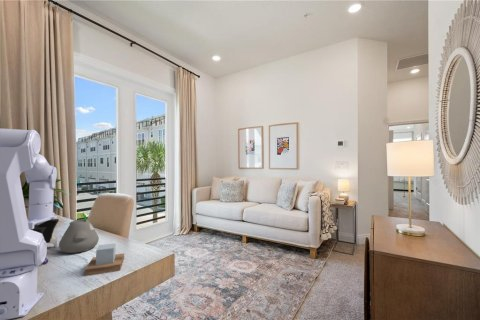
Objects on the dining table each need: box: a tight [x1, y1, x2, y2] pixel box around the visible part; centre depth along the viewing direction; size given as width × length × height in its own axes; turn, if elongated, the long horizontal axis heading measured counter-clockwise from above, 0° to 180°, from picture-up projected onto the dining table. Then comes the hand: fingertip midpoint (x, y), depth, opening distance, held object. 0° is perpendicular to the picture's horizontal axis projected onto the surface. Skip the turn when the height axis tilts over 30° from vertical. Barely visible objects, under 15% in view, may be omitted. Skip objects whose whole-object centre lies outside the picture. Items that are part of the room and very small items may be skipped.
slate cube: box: [95, 243, 117, 265], centre depth 75 cm, size 5×5×5 cm
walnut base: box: [84, 253, 125, 277], centre depth 75 cm, size 10×10×2 cm
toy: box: [58, 212, 100, 254], centre depth 92 cm, size 15×14×15 cm
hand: (39, 246), depth 68 cm, fingers open, 7 cm apart
